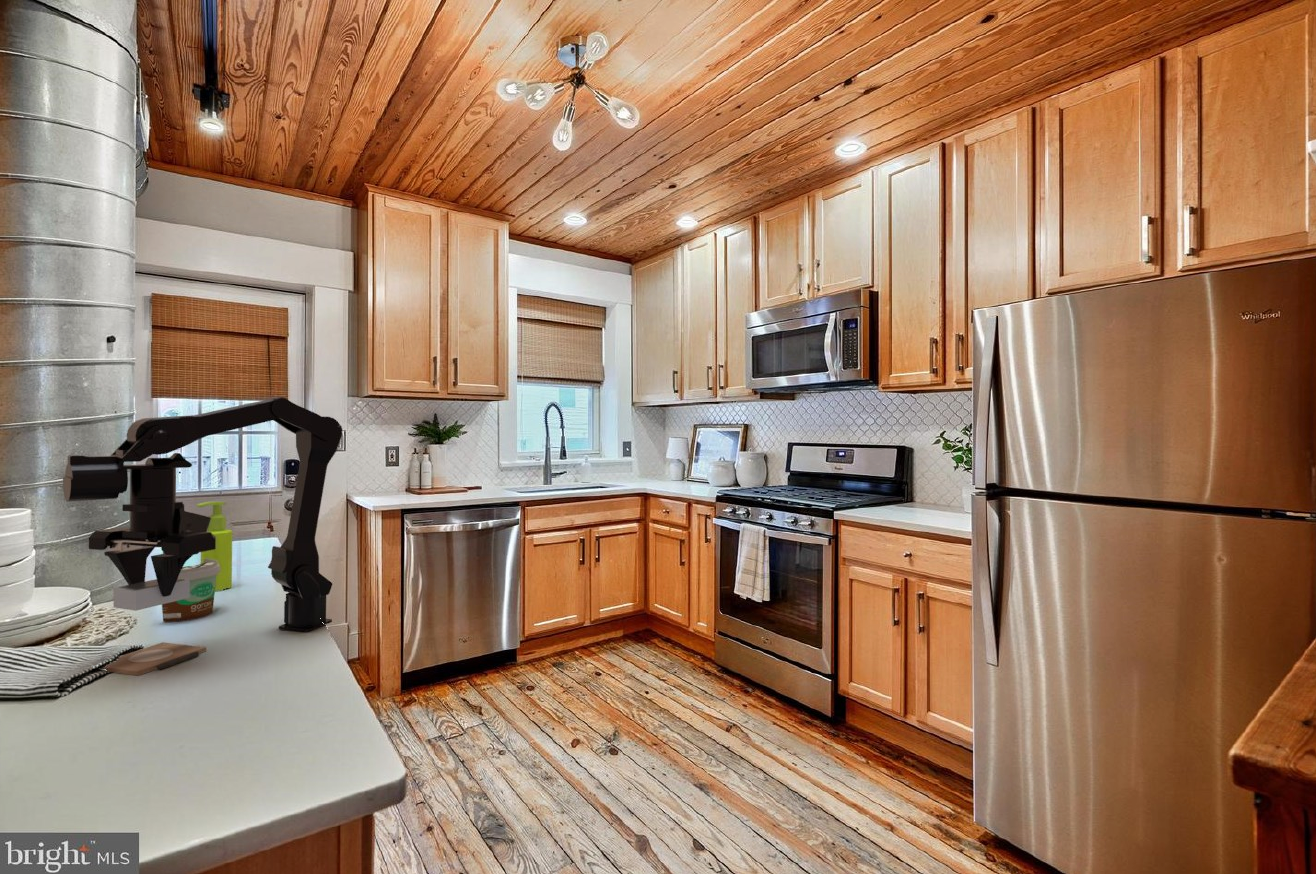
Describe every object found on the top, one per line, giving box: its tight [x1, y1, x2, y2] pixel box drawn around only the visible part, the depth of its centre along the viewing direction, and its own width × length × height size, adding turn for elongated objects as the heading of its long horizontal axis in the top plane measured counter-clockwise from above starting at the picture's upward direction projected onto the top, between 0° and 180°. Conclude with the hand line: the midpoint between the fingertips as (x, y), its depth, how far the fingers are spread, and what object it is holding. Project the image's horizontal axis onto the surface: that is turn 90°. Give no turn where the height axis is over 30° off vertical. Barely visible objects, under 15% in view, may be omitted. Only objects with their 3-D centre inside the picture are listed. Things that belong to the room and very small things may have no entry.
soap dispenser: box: [195, 501, 233, 592], centre depth 144 cm, size 6×7×20 cm
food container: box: [161, 559, 221, 623], centre depth 124 cm, size 12×6×10 cm, turn 179°
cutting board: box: [104, 642, 207, 676], centre depth 100 cm, size 10×11×1 cm
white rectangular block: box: [112, 578, 190, 612], centre depth 100 cm, size 5×8×3 cm, turn 161°
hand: (152, 594), depth 100 cm, fingers closed on white rectangular block, 5 cm apart
